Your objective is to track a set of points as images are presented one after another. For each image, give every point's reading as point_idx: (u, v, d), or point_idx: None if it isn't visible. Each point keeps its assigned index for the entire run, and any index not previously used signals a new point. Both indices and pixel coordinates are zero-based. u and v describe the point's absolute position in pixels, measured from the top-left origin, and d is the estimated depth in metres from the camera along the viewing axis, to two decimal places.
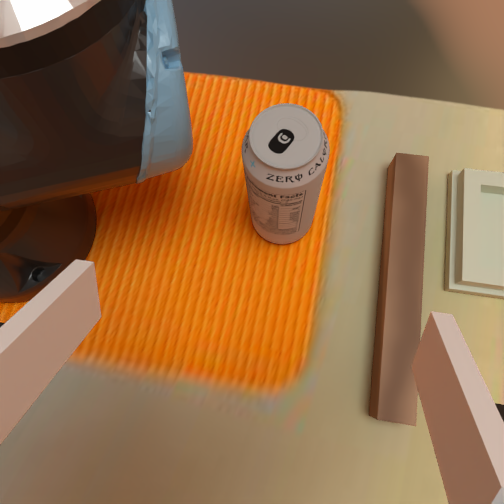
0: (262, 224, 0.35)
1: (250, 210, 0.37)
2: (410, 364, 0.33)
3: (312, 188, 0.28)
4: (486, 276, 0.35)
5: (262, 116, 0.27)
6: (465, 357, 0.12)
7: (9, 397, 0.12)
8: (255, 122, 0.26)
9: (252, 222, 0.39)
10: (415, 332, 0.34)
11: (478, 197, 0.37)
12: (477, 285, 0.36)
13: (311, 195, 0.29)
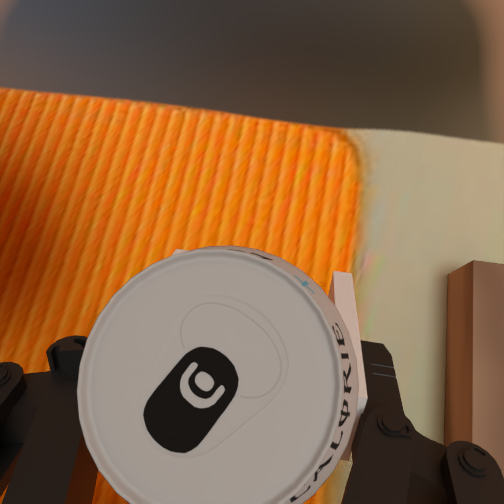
0: None
1: None
2: None
3: None
4: None
5: (134, 294, 0.08)
6: (348, 305, 0.14)
7: None
8: (108, 317, 0.08)
9: None
10: None
11: None
12: None
13: None
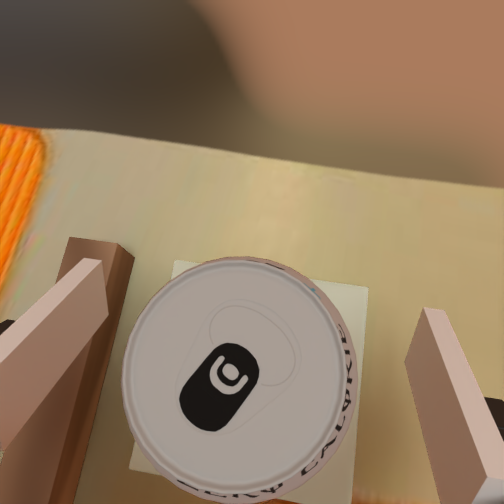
0: None
1: None
2: None
3: None
4: None
5: (169, 297, 0.09)
6: (455, 352, 0.13)
7: (21, 393, 0.12)
8: (147, 317, 0.09)
9: None
10: None
11: None
12: None
13: None
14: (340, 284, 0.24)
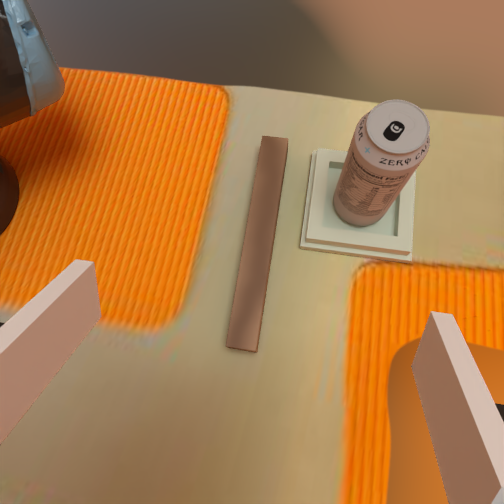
0: (352, 206, 0.40)
1: (337, 195, 0.42)
2: (256, 303, 0.41)
3: (412, 171, 0.33)
4: (326, 234, 0.43)
5: (375, 110, 0.32)
6: (465, 357, 0.12)
7: (9, 397, 0.12)
8: (370, 115, 0.32)
9: None
10: (262, 278, 0.41)
11: (326, 171, 0.45)
12: (321, 242, 0.44)
13: (408, 178, 0.34)
14: None
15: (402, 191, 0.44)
